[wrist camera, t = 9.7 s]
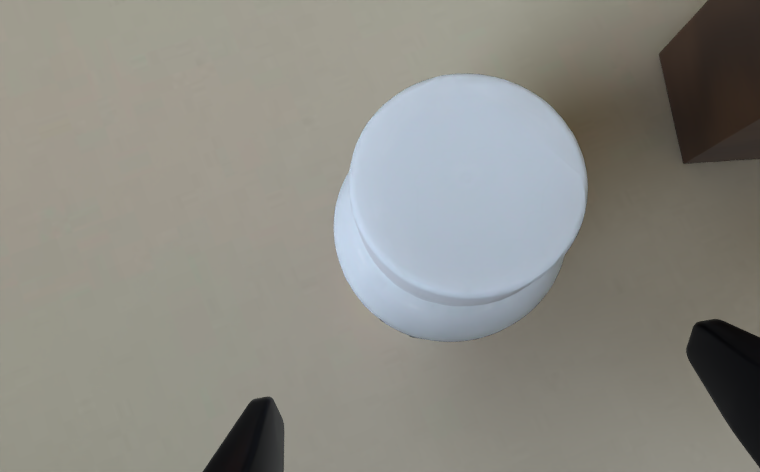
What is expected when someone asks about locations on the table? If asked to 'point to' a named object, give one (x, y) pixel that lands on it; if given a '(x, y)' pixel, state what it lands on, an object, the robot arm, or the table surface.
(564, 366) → the table surface
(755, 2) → the walnut block
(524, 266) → the pill bottle
